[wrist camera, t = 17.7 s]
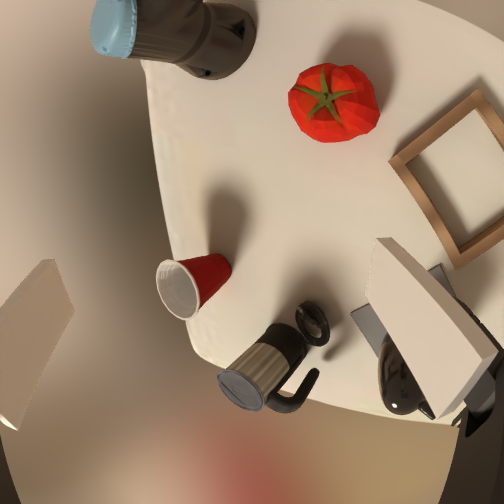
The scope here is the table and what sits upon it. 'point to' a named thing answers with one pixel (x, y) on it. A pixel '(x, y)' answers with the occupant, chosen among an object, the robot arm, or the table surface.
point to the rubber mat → (373, 324)
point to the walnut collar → (398, 163)
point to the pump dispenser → (399, 382)
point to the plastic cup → (191, 283)
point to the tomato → (333, 103)
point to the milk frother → (275, 365)
